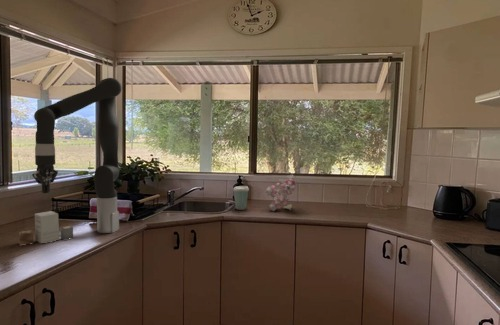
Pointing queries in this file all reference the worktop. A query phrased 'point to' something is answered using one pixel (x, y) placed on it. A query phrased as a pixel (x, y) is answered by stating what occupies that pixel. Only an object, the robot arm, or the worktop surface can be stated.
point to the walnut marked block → (26, 237)
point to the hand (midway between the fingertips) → (46, 192)
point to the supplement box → (46, 227)
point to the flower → (285, 187)
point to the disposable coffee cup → (241, 196)
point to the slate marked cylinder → (66, 232)
